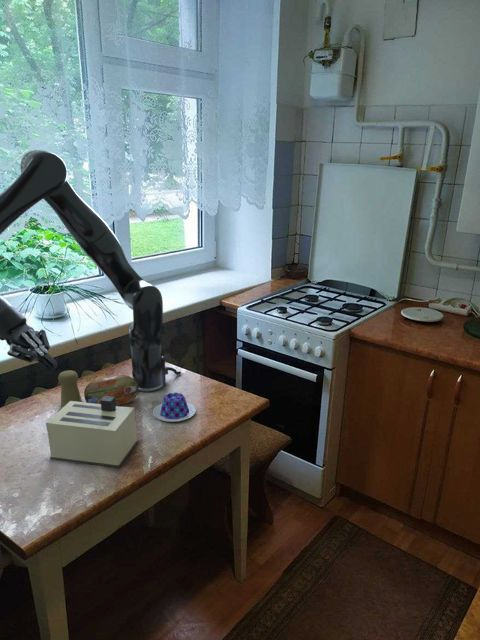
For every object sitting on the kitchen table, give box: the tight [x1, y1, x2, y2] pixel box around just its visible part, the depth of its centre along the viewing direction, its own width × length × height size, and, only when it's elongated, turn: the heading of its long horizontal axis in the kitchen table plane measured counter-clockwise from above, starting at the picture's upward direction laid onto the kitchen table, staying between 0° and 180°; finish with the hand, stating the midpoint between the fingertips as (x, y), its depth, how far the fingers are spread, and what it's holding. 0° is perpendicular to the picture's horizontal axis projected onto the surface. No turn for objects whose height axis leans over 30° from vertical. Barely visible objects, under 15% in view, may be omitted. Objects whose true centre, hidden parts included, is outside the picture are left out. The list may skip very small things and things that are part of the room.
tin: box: [83, 374, 139, 406], centre depth 143 cm, size 15×3×8 cm, turn 117°
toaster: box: [45, 401, 139, 469], centre depth 121 cm, size 13×17×10 cm
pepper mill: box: [58, 369, 83, 410], centre depth 140 cm, size 6×6×11 cm
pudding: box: [152, 392, 197, 422], centre depth 140 cm, size 12×12×5 cm
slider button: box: [101, 396, 116, 412], centre depth 121 cm, size 2×3×3 cm
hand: (54, 368), depth 119 cm, fingers closed
